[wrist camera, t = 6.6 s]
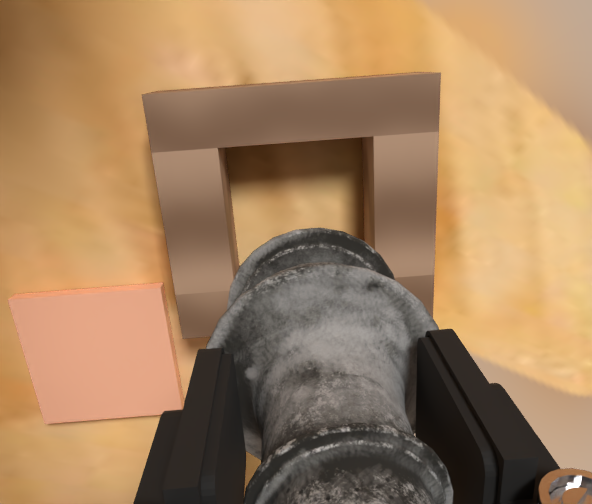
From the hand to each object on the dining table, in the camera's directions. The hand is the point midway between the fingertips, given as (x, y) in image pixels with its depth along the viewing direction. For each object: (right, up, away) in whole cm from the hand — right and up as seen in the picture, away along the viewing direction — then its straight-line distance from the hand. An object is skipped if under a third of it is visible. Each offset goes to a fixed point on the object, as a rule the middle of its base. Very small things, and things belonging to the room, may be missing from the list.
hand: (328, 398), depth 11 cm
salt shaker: (0, +2, +4) cm, 5 cm away
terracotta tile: (-13, -3, +21) cm, 25 cm away
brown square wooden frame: (-1, +6, +18) cm, 19 cm away
